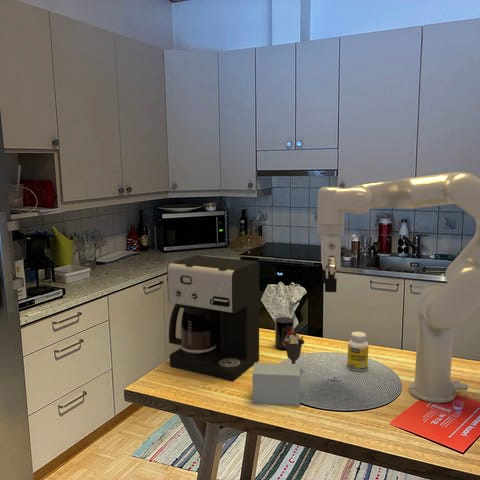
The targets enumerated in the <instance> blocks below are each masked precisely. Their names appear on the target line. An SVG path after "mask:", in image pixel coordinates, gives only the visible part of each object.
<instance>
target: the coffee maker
mask: <svg viewBox="0 0 480 480" xmlns="http://www.w3.org/2000/svg"><path fill="white" fill-rule="evenodd" d="M166 270H167V271H166V272H167V273H166V275H167V276H166V277H167V278H166V279H167V281H166V282H167V301H168V303H170V304H174V307H173V308H172V311H171V315H170V319H169V327H168V343H169V344H173V345H176V346H180V348H179V349H177V350H175V351H174V352H172V353H170V354H169V367H170V368H174V369H177V370H182V371H185V372H191V373H195V374H199V375H204V376H209V377H212V378H215V379H216V378H217V379H221V380H225V381H229V382H235V381H236V380H237V379H238V378H240V377H241V376H242V375H243V374H244V373H246V372H247V371H248V370H249V369H250V368H252V367H254V363H259V360H260V262H259V261H257V260H249V259H248V260H247V259H239V258H238V259H237V258H228V257H227V258H226V257H218V256H207V255H197V254H196V255H193V256H189V257H186V258H182V259H180V260H177V261H174V262H171V263H170V262H169V264H168V265H167V268H166ZM180 309H183V312H182V315H181V322H180V323H181V324H180V338H178V337H177V334H176V333H177V322H178V317H179V312H180Z"/></svg>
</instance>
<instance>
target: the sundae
mask: <svg viewBox="0 0 480 480" xmlns="http://www.w3.org/2000/svg"><path fill="white" fill-rule="evenodd" d="M287 327H288V328H290V327H289V326H287ZM290 329H291V328H290ZM290 329H289V332H288V335H287V336H286V338H285V339H284V340H283V341H284V343H285V344H286V350H285V351H286V356H287V358H288V359H289V360H290V361H291V364H296V361H297V360H298V359H299V358H300V356H301V353H302V352H301V351H302V346H303V345H304V344H305V339H304V338H303V337H304V336H303V335H302V336H301V337H300V334H298V333H297V332H294V331H295V330H294V331H292V330H291V332H290ZM300 371H301V372H302V370H300Z"/></svg>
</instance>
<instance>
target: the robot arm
mask: <svg viewBox="0 0 480 480" xmlns="http://www.w3.org/2000/svg"><path fill="white" fill-rule="evenodd" d="M447 205H456V206H457V207H458V208H460V209H462V210H463V211H464V212H465V213H467V214H468V215H470V216H471V217H473V219H474V220H475V223H476V224H475V225H476V229H475V234H474V235H473V237H472V239H471V240H470V241H469V243H467V245H466V247H464V249H463V250H461V252H459V254H458V255H457V256H456V257H455V259H453V261H452V262H451V263H450V264H449V265H448V266H447V268H446V270H445V273H444V278H445V280H446V284H445V285H444V286H443V287H442V286H439V285H432V286H429V287H426V288H424V290H422V291H421V293H420V295H419V296H418V299H417V336H416V338H417V339H416V350H415V351H416V354H415V369H414V371H415V372H414V380H413V381H411V382H410V383H409V385H408V391H409V393H410V394H411V395H412V396H413V397H415V398H417V399H418V400H419V399H420V400H422V401H424V402H428V403H436V404H440V403H441V404H442V403H450V402H451V401H453V400H455V398H456V391H457V390H459V391H468V389H469V385H468V383H463V382H462V383H461V381H460V380H455V379H454V380H453V379H451V371H452V360H453V359H452V356H453V345H454V329H456V328H458V327H459V326H461V324H462V323H463V322H464V321H465V320H466V319H467V318H468V317H469V316H470V314H472V313H473V312H474V310H475V309H476V308H477V307H479V305H480V178H479V177H478V176H476V175H474V174H472V173H469V172H462V171H457V172H456V171H455V172H454V171H453V172H447V173H445V172H444V173H438V174H432V175H431V174H430V175H423V176H415V177H406V178H400V179H396V180H389V181H381V182H375V183H372V182H371V183H366V184H364V183H363V184H357V185H353V186H351V187H347V188H343V187H341V186H340V187H339V186H322V187H320V188H319V189H318V194H317V224H316V226H317V229H316V231H317V233H316V235H317V236H319V237H320V239H321V240H320V254H321V255H320V256H321V257H320V260H321V265H322V276H321V277H322V283H321V284H322V285H323V284H324V291H325V293H337V280H338V279H337V271H340V270H341V269H342V268H341V266H342V263H341V262H342V261H341V259H342V258H341V250H342V249H341V245H342V244H341V237H343V236H344V235H345V234H344V231H345V213H349V214H356V215H359V214H365V213H367V212H369V211H370V210H371V209H381V208H399V209H405V210H406V209H421V208H427V207H435V206H436V207H437V206H447Z"/></svg>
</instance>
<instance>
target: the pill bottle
mask: <svg viewBox="0 0 480 480" xmlns="http://www.w3.org/2000/svg"><path fill="white" fill-rule="evenodd" d="M350 335H351V338H350V340H349V341H348V343H347V362H346V363H347V364H346V365H347V367H348V369H349V370H351V369H352V371H354V370H355V371H354V372H364V371H366V370H367V369H368V364H369V362H368V361H369V342H368V341H366V339H367V334H366V333H365V332H362V331H354V332H353V331H352V332H351V334H350Z"/></svg>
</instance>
